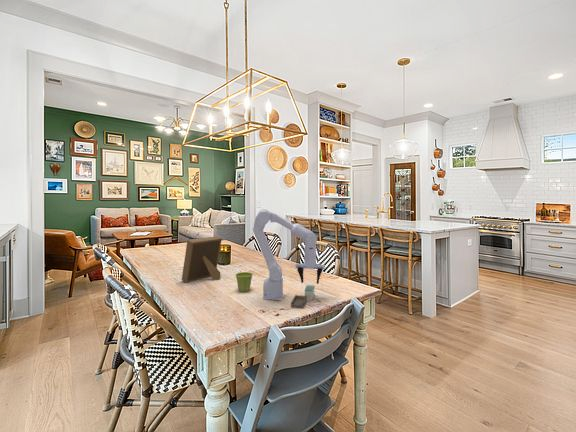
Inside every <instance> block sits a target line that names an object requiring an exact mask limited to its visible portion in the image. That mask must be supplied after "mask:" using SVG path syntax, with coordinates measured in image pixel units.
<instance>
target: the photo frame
mask: <svg viewBox="0 0 576 432" xmlns="http://www.w3.org/2000/svg"><path fill="white" fill-rule="evenodd" d="M221 244H222V238H221V237H220V236H218V235H216V236H215V235H214V236H208V237H200V238H192V239H187V240H186V246H185V252H184V253H185V255H184V261H183V266H182V267H183V268H182V275H181V281H182V282H184V283H191V282H194V281H199V280H202V279H206V278H210V277H211V279H212V281H218V280H221V272H220V270H219V269H218V263H219V256H220V252H221V247H222V246H221Z"/></svg>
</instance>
